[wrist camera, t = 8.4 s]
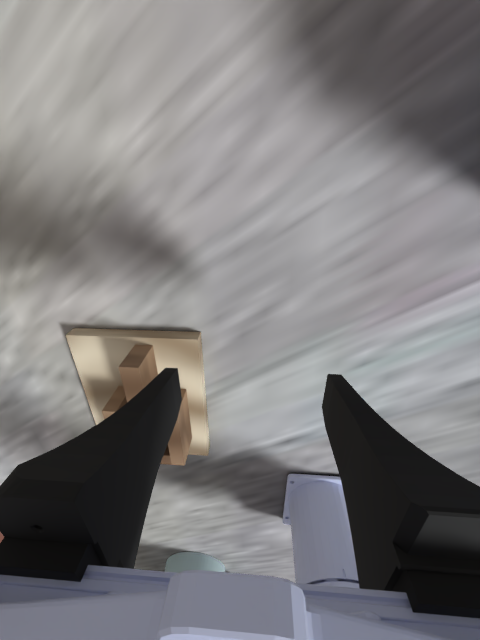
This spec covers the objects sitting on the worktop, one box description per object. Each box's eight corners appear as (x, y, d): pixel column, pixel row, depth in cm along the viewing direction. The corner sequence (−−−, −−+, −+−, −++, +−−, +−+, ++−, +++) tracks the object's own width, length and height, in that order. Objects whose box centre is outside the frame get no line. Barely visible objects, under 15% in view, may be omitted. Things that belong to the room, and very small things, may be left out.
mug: (164, 574, 45) (140, 672, 36) (169, 547, 41) (143, 650, 32) (247, 589, 45) (243, 690, 37) (260, 564, 41) (260, 670, 32)
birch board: (209, 445, 30) (207, 455, 29) (110, 439, 30) (104, 449, 29) (200, 331, 23) (197, 339, 22) (74, 328, 24) (65, 335, 23)
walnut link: (192, 437, 28) (184, 465, 25) (131, 434, 28) (117, 461, 25) (181, 346, 23) (170, 369, 20) (107, 343, 23) (87, 365, 20)
